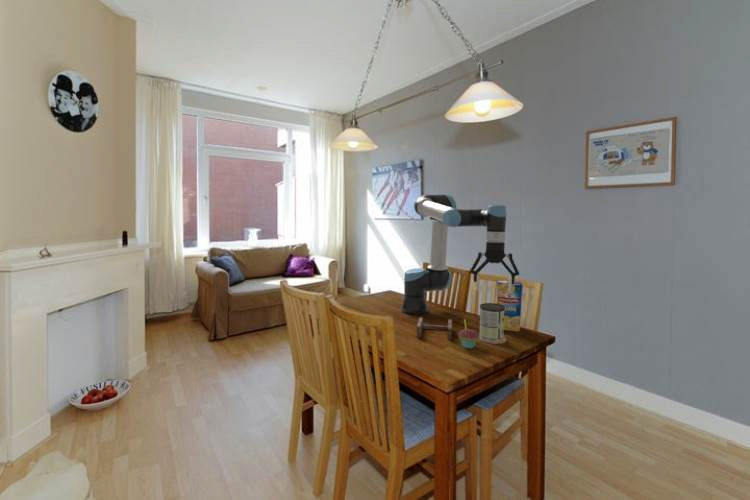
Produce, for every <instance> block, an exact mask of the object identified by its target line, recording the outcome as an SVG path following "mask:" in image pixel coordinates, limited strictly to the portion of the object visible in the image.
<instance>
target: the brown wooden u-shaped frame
mask: <svg viewBox="0 0 750 500" xmlns="http://www.w3.org/2000/svg"><path fill="white" fill-rule="evenodd" d="M423 329H427V330H439V331H440V330H441V331H447V340H448V341H452V337H453V336H452V334H453V333H452V329H453V319H452V318H451V319H450V318H448V322H447V325H439V324H438V325H436V324H424V317H422V316H421V317H419V318H418V322H417V324H416V338H418V339H419V338H421V336H422V333H423Z"/></svg>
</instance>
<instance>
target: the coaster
mask: <svg viewBox="0 0 750 500" xmlns="http://www.w3.org/2000/svg"><path fill="white" fill-rule="evenodd" d="M479 335H480V333H479ZM478 341H480V342H483V343H485V344H491V345H502V344H505V343H507V337H506V336H505V335H503V340H501V341H488V340H484V339H482V338H480V339H479V340H478Z"/></svg>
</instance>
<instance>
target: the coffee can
mask: <svg viewBox="0 0 750 500" xmlns="http://www.w3.org/2000/svg"><path fill="white" fill-rule="evenodd" d="M504 309H505V307H504V306H503V305H500V304H497V303H494V302H485V303H481V304H480V305H479V334H480V335H479V336H480V338H482V339H484V340H488V341H501V340H503V336H504V331H505V330H504Z"/></svg>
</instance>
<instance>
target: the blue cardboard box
mask: <svg viewBox="0 0 750 500" xmlns="http://www.w3.org/2000/svg"><path fill="white" fill-rule="evenodd" d="M508 289H509V281H502V280H497V284H496V304H500V305H503V306H504V307H505V309H504V331H512V332H519V331H520V332H521V317H522V315H521V314H522V292H523V291H522V290H523V282H521V281H519V282H518V281H514V284H512V286H511V292H509V290H508Z"/></svg>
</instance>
